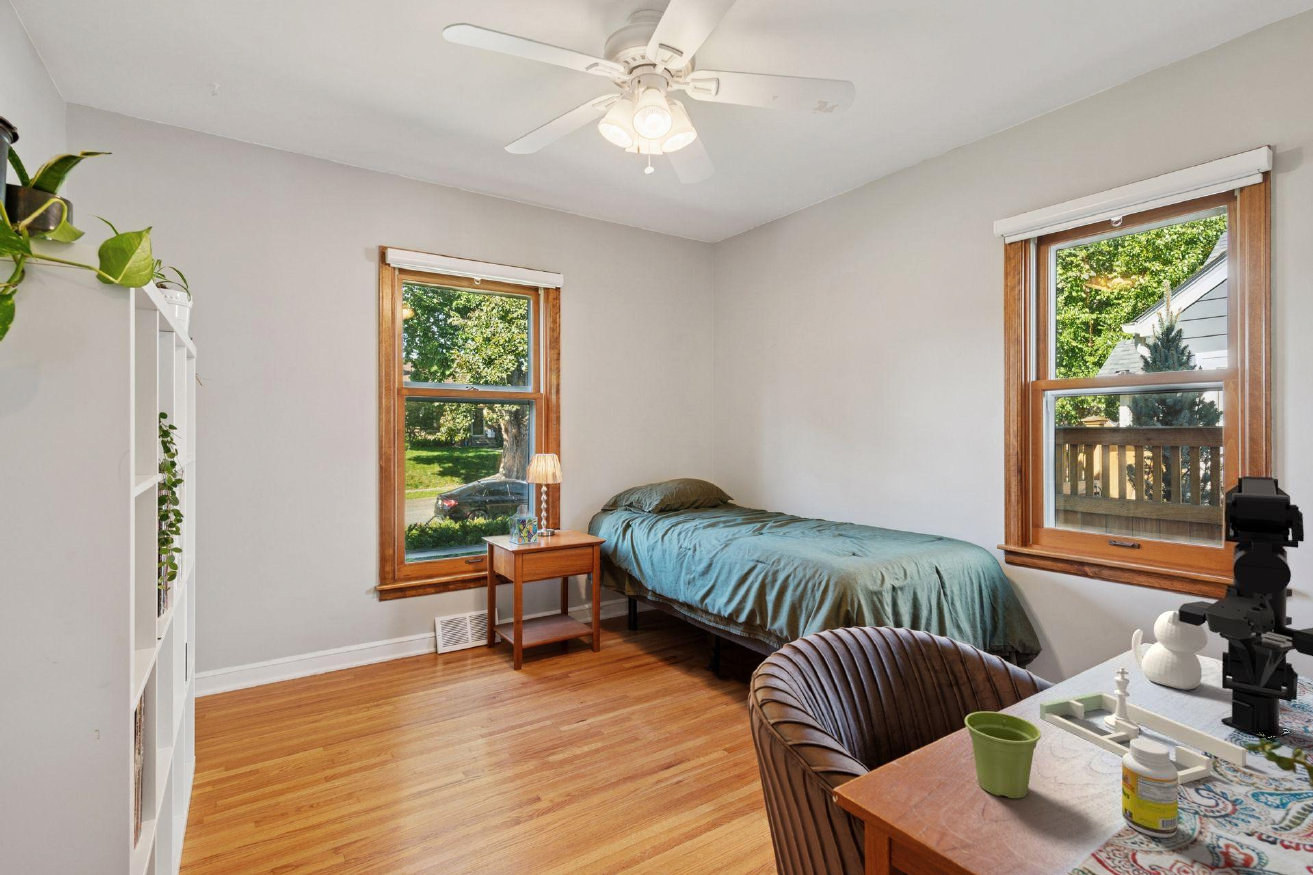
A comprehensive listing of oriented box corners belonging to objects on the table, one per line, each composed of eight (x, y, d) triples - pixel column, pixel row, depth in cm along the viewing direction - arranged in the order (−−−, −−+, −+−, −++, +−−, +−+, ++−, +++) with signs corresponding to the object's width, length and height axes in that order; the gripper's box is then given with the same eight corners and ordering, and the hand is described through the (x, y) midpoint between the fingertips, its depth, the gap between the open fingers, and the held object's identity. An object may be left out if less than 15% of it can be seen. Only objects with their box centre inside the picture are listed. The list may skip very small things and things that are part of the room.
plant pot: (949, 777, 92) (949, 717, 92) (996, 763, 96) (996, 706, 96) (1008, 813, 84) (1008, 747, 84) (1056, 796, 88) (1057, 733, 87)
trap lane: (1099, 705, 116) (1100, 691, 116) (1246, 765, 95) (1246, 748, 95) (1040, 717, 111) (1040, 703, 111) (1180, 784, 90) (1180, 766, 90)
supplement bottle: (1123, 807, 85) (1124, 730, 85) (1177, 824, 81) (1178, 743, 81) (1119, 827, 81) (1120, 746, 81) (1176, 846, 77) (1177, 761, 77)
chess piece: (1145, 734, 105) (1146, 674, 105) (1111, 731, 106) (1112, 671, 106) (1130, 721, 110) (1131, 663, 110) (1097, 718, 111) (1098, 660, 111)
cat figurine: (1193, 698, 119) (1195, 618, 118) (1118, 674, 130) (1120, 601, 129) (1216, 689, 123) (1218, 611, 123) (1141, 666, 134) (1143, 595, 134)
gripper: (1154, 571, 101) (1153, 670, 101) (1305, 601, 83) (1304, 721, 83) (1202, 565, 104) (1201, 661, 105) (1357, 594, 87) (1356, 709, 87)
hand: (1258, 685), depth 95 cm, fingers closed
